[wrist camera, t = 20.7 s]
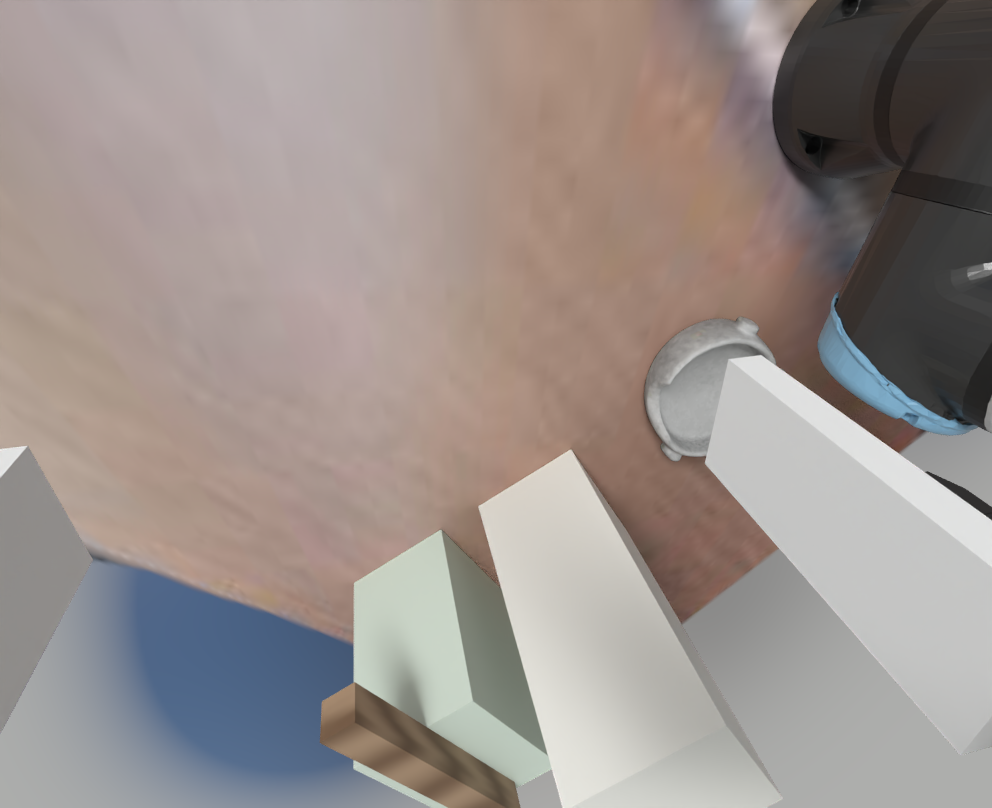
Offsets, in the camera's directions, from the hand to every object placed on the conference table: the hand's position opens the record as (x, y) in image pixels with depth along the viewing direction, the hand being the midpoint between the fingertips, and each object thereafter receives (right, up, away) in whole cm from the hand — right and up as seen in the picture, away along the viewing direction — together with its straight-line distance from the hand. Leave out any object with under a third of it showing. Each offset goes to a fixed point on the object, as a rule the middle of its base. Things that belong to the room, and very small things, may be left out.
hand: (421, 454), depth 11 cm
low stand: (-6, -22, +56) cm, 60 cm away
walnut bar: (-4, -28, +36) cm, 46 cm away
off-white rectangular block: (+9, -12, +54) cm, 56 cm away
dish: (+23, +4, +48) cm, 53 cm away
